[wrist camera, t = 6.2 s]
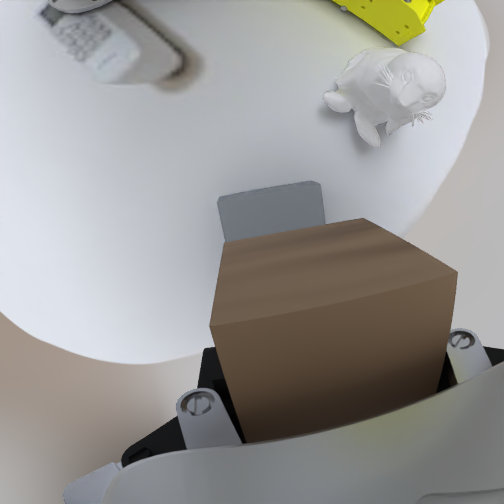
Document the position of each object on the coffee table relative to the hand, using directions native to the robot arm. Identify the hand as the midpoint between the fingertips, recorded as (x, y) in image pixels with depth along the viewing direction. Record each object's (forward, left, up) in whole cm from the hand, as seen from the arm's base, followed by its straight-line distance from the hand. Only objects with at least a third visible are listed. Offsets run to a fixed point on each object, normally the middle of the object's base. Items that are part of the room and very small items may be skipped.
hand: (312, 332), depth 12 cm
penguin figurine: (-11, +10, -16) cm, 22 cm away
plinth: (0, 0, -16) cm, 16 cm away
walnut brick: (0, 0, -1) cm, 1 cm away
